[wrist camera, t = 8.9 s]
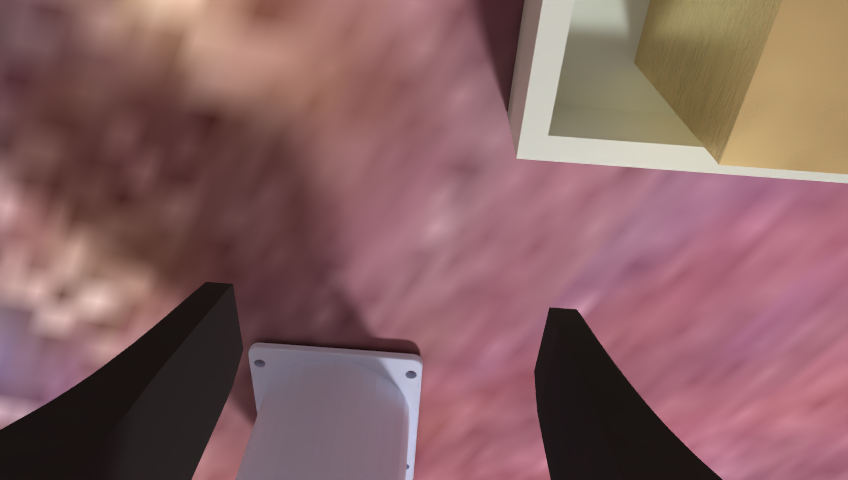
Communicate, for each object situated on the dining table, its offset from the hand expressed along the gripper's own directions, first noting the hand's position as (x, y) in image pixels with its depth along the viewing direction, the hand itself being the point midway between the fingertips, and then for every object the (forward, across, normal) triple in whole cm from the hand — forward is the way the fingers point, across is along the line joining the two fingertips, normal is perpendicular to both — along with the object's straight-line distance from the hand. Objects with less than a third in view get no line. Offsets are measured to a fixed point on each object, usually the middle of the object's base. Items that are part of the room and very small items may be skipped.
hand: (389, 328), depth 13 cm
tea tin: (+8, -9, -6) cm, 14 cm away
